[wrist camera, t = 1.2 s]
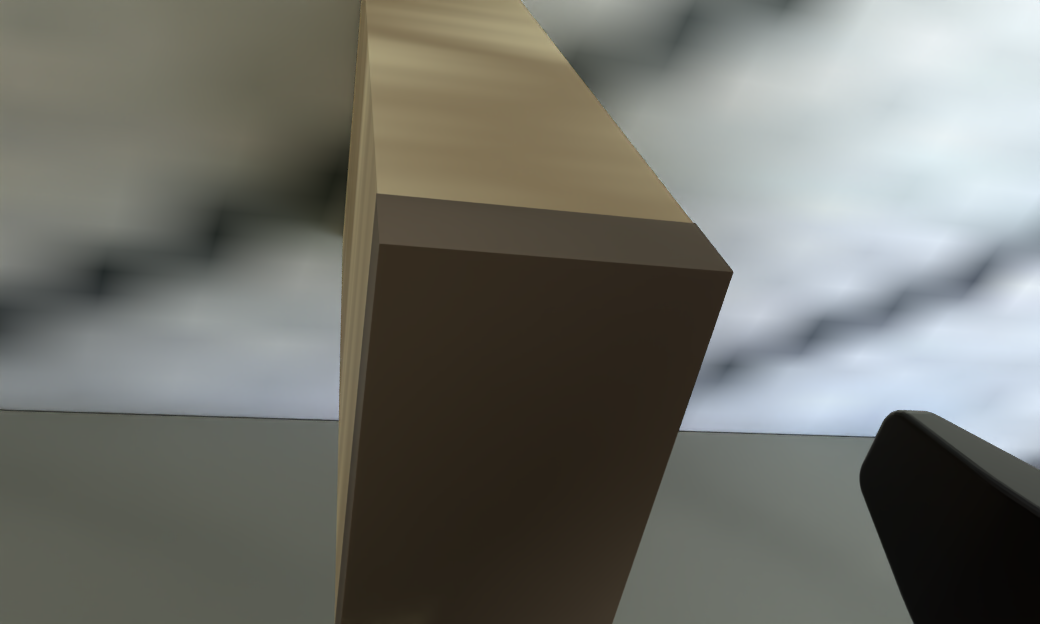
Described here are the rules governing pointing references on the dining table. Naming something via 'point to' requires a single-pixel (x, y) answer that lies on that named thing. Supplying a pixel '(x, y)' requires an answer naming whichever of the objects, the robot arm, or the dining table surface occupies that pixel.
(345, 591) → the tall wooden brick
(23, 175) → the dining table surface
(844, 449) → the grey storage tray
